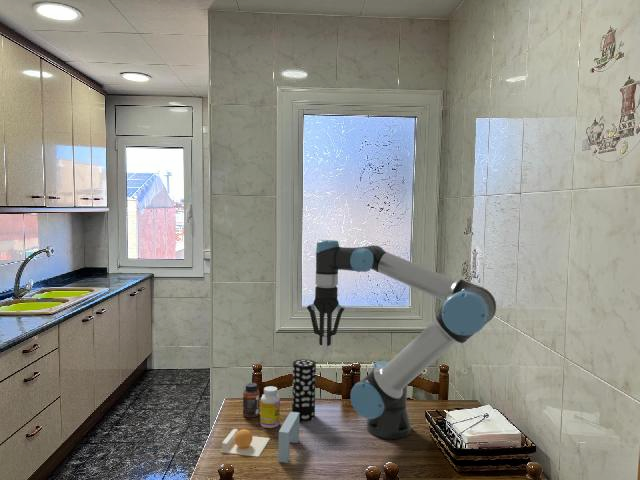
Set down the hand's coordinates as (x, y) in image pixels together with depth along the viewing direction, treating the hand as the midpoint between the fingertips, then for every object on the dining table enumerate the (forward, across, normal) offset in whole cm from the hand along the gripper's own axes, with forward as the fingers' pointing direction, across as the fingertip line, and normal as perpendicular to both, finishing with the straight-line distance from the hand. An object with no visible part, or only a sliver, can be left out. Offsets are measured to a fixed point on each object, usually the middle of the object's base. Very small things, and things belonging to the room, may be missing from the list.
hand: (324, 354), depth 161 cm
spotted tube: (+27, +9, -9) cm, 29 cm away
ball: (+24, +22, +17) cm, 37 cm away
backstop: (+26, +28, +16) cm, 41 cm away
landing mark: (+26, +22, +16) cm, 38 cm away
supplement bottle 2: (+27, +19, 0) cm, 33 cm away
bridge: (+26, +8, +16) cm, 32 cm away
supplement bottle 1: (+27, +28, -6) cm, 39 cm away
